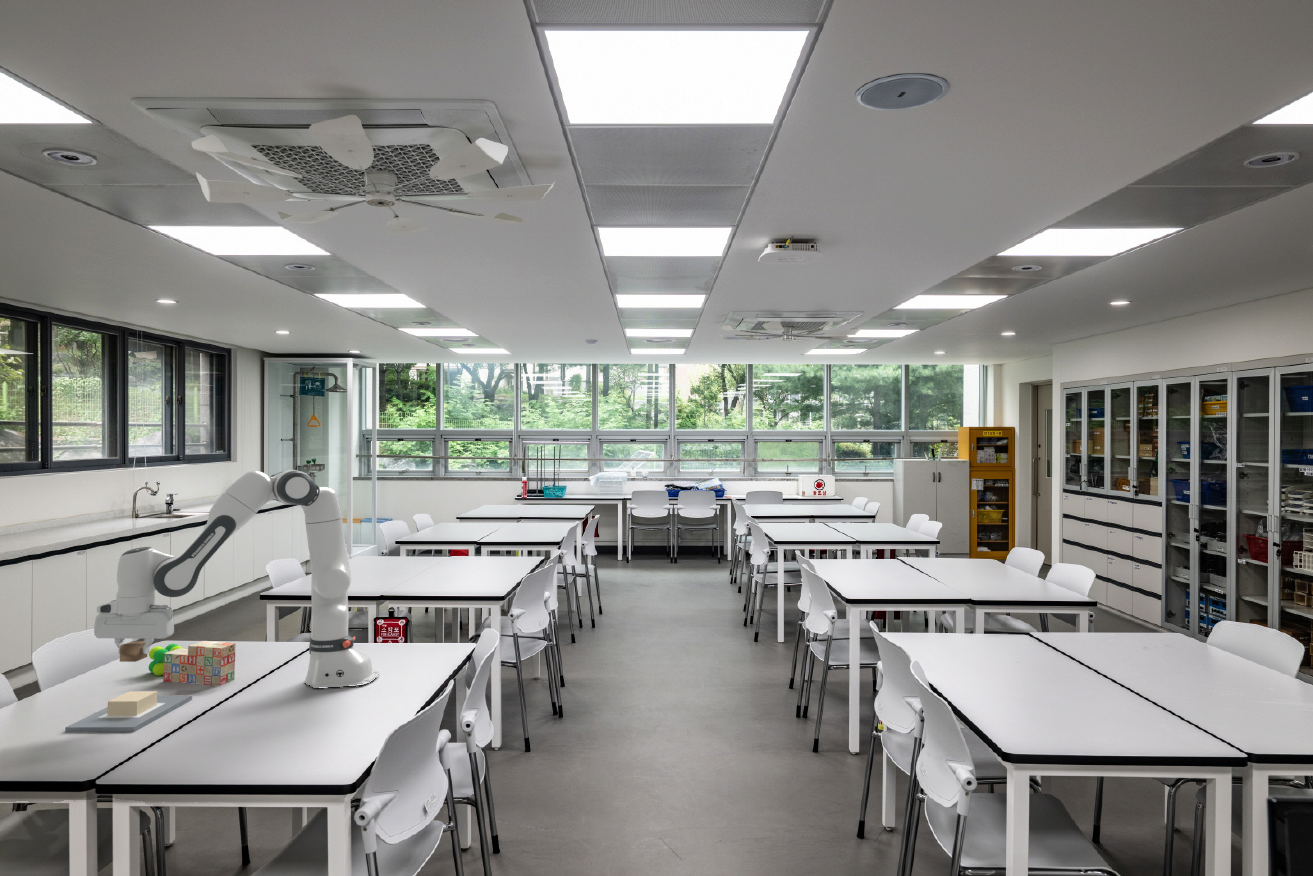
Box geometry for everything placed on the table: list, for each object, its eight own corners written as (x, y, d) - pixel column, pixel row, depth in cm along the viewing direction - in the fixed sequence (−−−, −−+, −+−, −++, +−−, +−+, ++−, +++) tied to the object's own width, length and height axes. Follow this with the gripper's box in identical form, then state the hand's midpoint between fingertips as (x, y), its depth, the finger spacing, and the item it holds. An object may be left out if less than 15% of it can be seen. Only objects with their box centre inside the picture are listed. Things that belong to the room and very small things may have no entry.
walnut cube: (147, 657, 198) (147, 641, 198) (135, 661, 193) (136, 645, 193) (131, 657, 197) (131, 641, 198) (119, 661, 193) (120, 645, 193)
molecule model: (185, 672, 233) (176, 666, 239) (186, 646, 233) (177, 641, 239) (155, 678, 226) (146, 673, 232) (155, 651, 226) (147, 646, 232)
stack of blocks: (162, 682, 223) (163, 644, 223) (178, 675, 229) (179, 639, 230) (220, 686, 220) (221, 647, 220) (235, 679, 226) (236, 642, 226)
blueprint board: (191, 699, 207) (192, 682, 207) (134, 731, 183) (134, 712, 183) (131, 699, 207) (131, 682, 207) (65, 732, 183) (65, 712, 183)
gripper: (179, 602, 199) (178, 650, 199) (107, 602, 199) (106, 650, 198) (165, 607, 193) (163, 656, 193) (90, 607, 192) (89, 656, 192)
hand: (134, 653), depth 195 cm, fingers closed on walnut cube, 4 cm apart
